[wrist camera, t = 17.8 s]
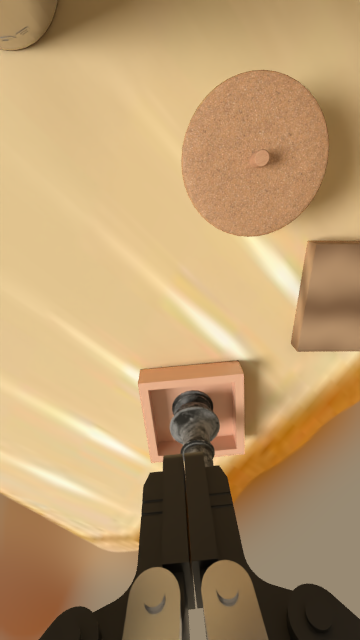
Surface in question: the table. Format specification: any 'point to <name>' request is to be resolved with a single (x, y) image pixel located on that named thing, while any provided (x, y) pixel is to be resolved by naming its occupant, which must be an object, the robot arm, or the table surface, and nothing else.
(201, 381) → the tray
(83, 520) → the table surface
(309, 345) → the bronze block
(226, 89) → the lidded jar
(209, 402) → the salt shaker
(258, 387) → the table surface
